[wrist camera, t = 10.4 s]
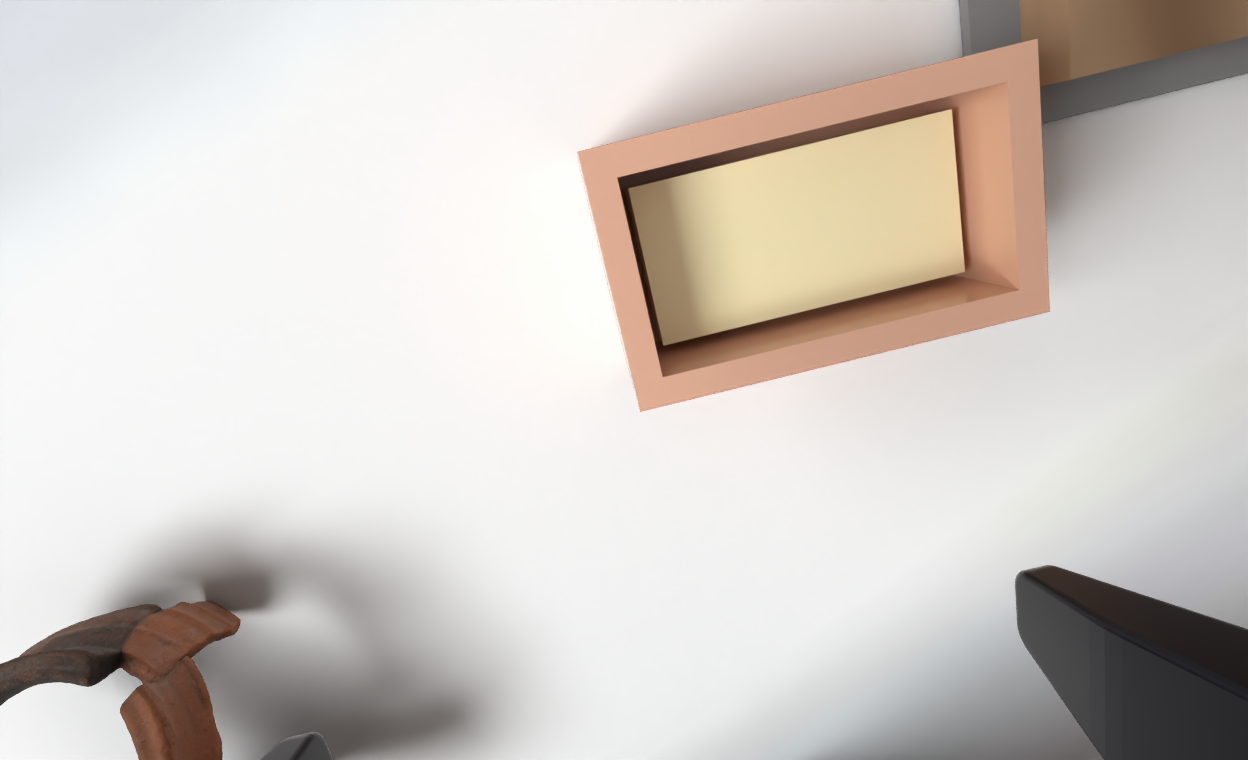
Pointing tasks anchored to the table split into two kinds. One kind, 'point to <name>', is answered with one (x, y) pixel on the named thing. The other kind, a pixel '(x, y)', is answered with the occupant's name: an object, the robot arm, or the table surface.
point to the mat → (997, 24)
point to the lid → (1123, 31)
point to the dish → (872, 317)
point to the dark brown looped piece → (139, 672)
